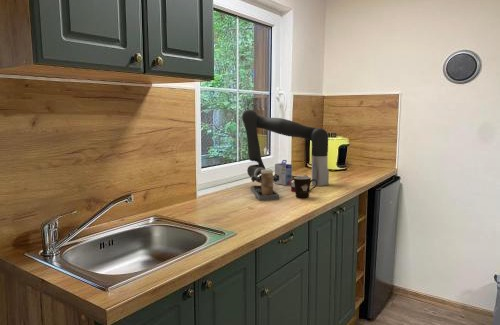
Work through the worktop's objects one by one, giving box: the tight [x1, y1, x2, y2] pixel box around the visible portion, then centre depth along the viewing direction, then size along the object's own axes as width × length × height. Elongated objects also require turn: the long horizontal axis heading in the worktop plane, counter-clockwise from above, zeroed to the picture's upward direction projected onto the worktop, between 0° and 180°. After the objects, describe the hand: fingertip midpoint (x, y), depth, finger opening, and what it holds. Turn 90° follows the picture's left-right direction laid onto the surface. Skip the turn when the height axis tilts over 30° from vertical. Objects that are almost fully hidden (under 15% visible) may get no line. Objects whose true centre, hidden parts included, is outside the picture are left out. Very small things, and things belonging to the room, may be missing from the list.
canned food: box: [290, 174, 309, 193], centre depth 203 cm, size 11×10×10 cm
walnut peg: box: [260, 168, 274, 195], centre depth 187 cm, size 5×5×14 cm
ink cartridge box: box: [274, 159, 293, 186], centre depth 223 cm, size 10×6×14 cm, turn 39°
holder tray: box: [250, 185, 280, 202], centre depth 195 cm, size 10×26×2 cm, turn 9°
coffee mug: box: [293, 175, 318, 200], centre depth 187 cm, size 12×9×10 cm
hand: (267, 180), depth 184 cm, fingers open, 8 cm apart
